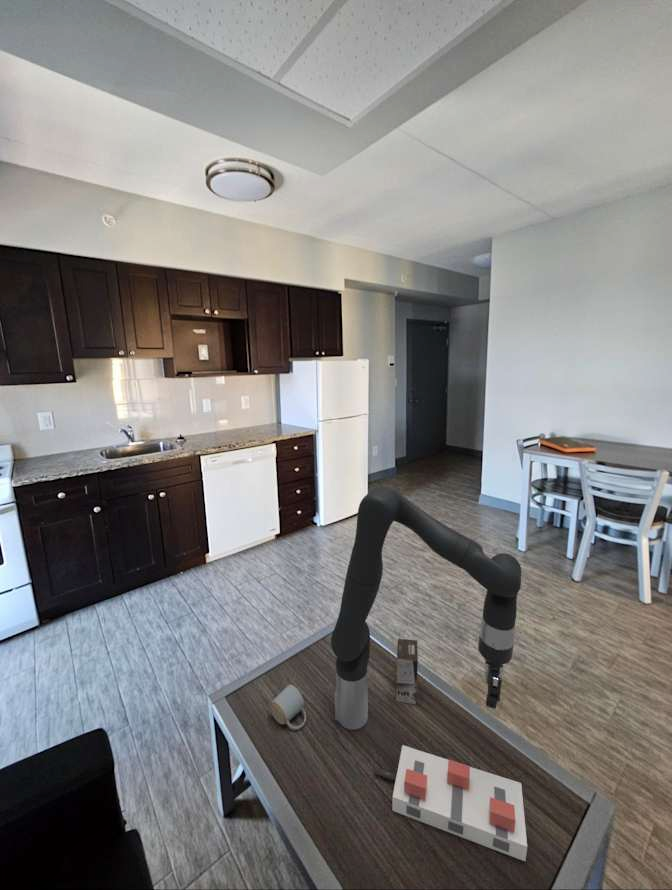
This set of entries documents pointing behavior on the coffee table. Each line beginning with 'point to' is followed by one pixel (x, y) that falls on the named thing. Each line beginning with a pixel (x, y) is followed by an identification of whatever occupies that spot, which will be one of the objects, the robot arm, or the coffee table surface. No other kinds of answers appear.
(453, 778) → the toggle
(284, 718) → the ceramic mug
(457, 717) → the coffee table surface
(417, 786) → the toggle
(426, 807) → the slider control panel
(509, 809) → the toggle
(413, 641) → the coffee box
